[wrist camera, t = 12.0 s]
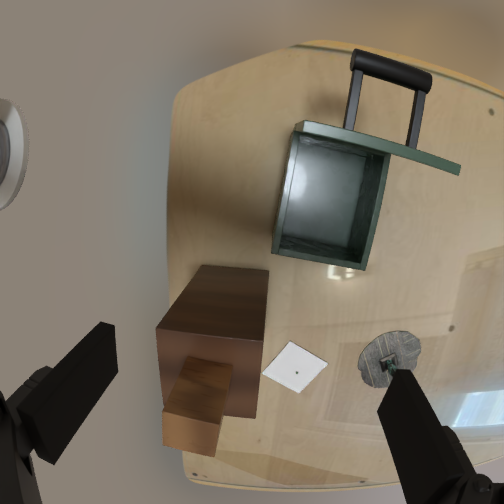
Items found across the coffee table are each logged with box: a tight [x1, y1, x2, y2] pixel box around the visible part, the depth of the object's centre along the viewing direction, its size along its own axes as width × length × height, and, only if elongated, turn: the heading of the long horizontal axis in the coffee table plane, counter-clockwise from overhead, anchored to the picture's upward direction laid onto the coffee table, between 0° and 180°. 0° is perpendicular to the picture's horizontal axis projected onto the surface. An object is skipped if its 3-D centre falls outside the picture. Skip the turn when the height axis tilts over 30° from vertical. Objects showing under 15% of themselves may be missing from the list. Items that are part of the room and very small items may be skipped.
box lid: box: [294, 49, 461, 176], centre depth 24 cm, size 15×12×7 cm
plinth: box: [156, 265, 269, 419], centre depth 39 cm, size 10×10×20 cm
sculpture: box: [358, 331, 421, 388], centre depth 49 cm, size 12×9×8 cm
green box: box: [271, 130, 391, 271], centre depth 39 cm, size 15×12×9 cm
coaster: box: [262, 341, 328, 393], centre depth 50 cm, size 8×8×1 cm
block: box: [162, 356, 233, 457], centre depth 25 cm, size 4×4×8 cm
